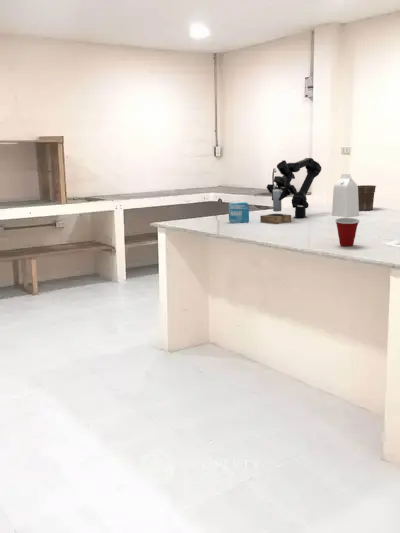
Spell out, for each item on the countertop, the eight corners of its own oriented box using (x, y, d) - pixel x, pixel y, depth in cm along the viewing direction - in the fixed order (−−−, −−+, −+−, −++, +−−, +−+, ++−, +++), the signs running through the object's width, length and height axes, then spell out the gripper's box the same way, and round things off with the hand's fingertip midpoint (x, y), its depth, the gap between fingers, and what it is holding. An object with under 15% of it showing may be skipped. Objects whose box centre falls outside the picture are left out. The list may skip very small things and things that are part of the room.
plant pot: (347, 209, 391) (347, 185, 388) (369, 208, 393) (370, 184, 389) (356, 212, 375) (356, 187, 372) (379, 210, 377) (380, 186, 373)
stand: (275, 219, 352) (275, 212, 351) (291, 221, 342) (291, 214, 341) (260, 222, 344) (260, 214, 343) (276, 224, 334) (276, 216, 333)
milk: (358, 215, 358) (359, 173, 352) (346, 217, 351) (347, 174, 346) (344, 214, 367) (344, 173, 362) (331, 215, 361) (332, 174, 356)
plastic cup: (338, 248, 254) (339, 221, 251) (331, 244, 264) (331, 218, 262) (362, 247, 254) (363, 220, 252) (354, 242, 265) (355, 217, 262)
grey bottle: (279, 210, 342) (279, 188, 339) (282, 211, 337) (282, 189, 335) (271, 210, 341) (271, 189, 338) (275, 211, 336) (274, 189, 333)
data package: (229, 223, 345) (228, 203, 343) (228, 222, 350) (228, 202, 347) (249, 222, 345) (248, 202, 343) (248, 221, 350) (247, 202, 347)
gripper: (267, 170, 343) (257, 191, 338) (293, 171, 331) (283, 192, 325) (275, 182, 350) (265, 202, 345) (301, 183, 338) (291, 204, 332)
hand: (275, 200), depth 337 cm, fingers closed on grey bottle, 5 cm apart
